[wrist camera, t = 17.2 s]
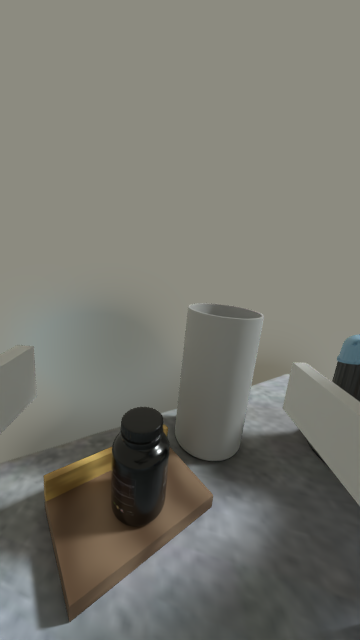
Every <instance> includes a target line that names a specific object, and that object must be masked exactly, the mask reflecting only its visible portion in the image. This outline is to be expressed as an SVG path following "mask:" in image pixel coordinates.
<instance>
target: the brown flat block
mask: <svg viewBox="0 0 360 640" xmlns="http://www.w3.org/2000/svg"><path fill="white" fill-rule="evenodd" d="M163 432H164V433H165V435H166V436H167V433H168V427H167V426H166V425H163ZM111 463H112V447H110V448H108V449H105V450H103V451H101V452H98V453H96V454H94V455H91V456H89V457H86V458H84V459H82V460H79V461H77V462H75V463H72V464H70V465H67V466H65V467H63V468H60V469H58V470H56V471H53V472H51V473H48V474H46V475H44V495H45V510H46V514H47V519H48V524H49V529H50V533H51V538H52V543H53V547H54V552H55V557H56V561H57V566H58V571H59V576H60V580H61V585H62V590H63V594H64V599H65V604H66V609H67V613H68V618H69V622H71V621H72V620H73V619H74V618H76V617H77V616H78V615H79V614H80V613H82V612H83V611H84V610H85V609H87V608H88V607H89V606H90V605H92V604H93V603H94V602H95V601H96V600H98V599H99V598H100V597H101V596H103V595H104V594H105V593H106V592H107V591H109V590H110V589H111V588H112V587H114V586H115V585H116V584H117V583H119V582H120V581H121V580H122V579H123V578H125V577H126V576H127V575H128V574H130V573H131V572H132V571H133V570H135V569H136V568H137V567H138V566H139V565H141V564H142V563H143V562H144V561H146V560H147V559H148V558H149V557H151V556H152V555H153V554H154V553H155V552H157V551H158V550H159V549H160V548H162V547H163V546H164V545H165V544H166V543H168V542H169V541H170V540H171V539H173V538H174V537H175V536H176V535H178V534H179V533H180V532H181V531H182V530H184V529H185V528H186V527H187V526H189V525H190V524H191V523H192V522H194V521H195V520H196V519H197V518H198V517H200V516H201V515H202V514H203V513H205V512H206V511H207V510H208V509H210V508H211V506H212V500H213V494H212V493H211V492H210V491H209V490H208V489H207V488H206V487H205V485H204V484H203V483H202V482H201V481H200V480H199V479H198V478H197V477H196V475H195V474H194V473H193V472H192V471H191V470H190V469H189V468H188V467H187V465H186V464H185V463H184V462H183V461H182V460H181V459H180V458H179V457H178V455H177V454H176V453H175V452H174V451H173V450H172V449H171V448H170V450H169V462H168V474H167V486H166V497H165V503H164V506H163V509H162V511H161V512H160V514H159V515H158V516H157V517H156V518H155V519H154V520H153V521H152V522H150V523H148V524H146V525H144V526H139V527H132V526H128V525H125V524H123V523H121V522H120V521H119V520H118V519H117V518H116V516H115V515H114V513H113V510H112V506H111Z"/></svg>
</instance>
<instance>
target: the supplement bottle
mask: <svg viewBox="0 0 360 640" xmlns="http://www.w3.org/2000/svg"><path fill="white" fill-rule="evenodd" d="M169 450H170V446H169V441H168V438H167V436H166V435H165V433H164V432H163V417H162V415H161V414H160V413H159V412H158V411H157V410H155V409H153V408H149V407H137V408H134V409H131V410H130V411H128V412H127V413H125V415H124V416H123V418H122V421H121V432H120V433H119V434H118V436H117V437H116V438H115V440H114V442H113V446H112V463H111V506H112V510H113V513H114V515H115V516H116V518H117V519H118V520H119V521H120V522H121V523H123V524H125V525H128V526H132V527H139V526H144V525H146V524H148V523H150V522H152V521H153V520H154V519H155V518H156V517H157V516H158V515H159V514H160V512H161V511H162V509H163V506H164V503H165V497H166V486H167V474H168V462H169Z"/></svg>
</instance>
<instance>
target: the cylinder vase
mask: <svg viewBox="0 0 360 640" xmlns="http://www.w3.org/2000/svg"><path fill="white" fill-rule="evenodd" d="M263 319H264V315H263V314H261V313H259V312H256V311H253V310H250V309H246V308H241V307H236V306H229V305H221V304H208V303H199V304H191V305H189V306H188V314H187V323H186V333H185V342H184V351H183V360H182V369H181V378H180V388H179V397H178V406H177V415H176V424H175V435H176V439H177V441H178V443H179V444H180V446H181V447H182V448H183V449H184V450H185V451H186V452H188V453H189V454H191V455H193V456H194V457H197V458H199V459H202V460H207V461H221V460H225V459H228V458H230V457H232V456H233V455H234V454H235V453H236V452H237V451H238V449H239V447H240V443H241V437H242V432H243V427H244V421H245V416H246V411H247V405H248V400H249V394H250V389H251V384H252V378H253V373H254V368H255V362H256V357H257V351H258V346H259V340H260V335H261V330H262V325H263Z"/></svg>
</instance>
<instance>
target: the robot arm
mask: <svg viewBox="0 0 360 640" xmlns="http://www.w3.org/2000/svg"><path fill="white" fill-rule="evenodd" d="M337 360H338V363H337V366H336V370H335V374H334V377H333V381H331V380H329V379H327V378H326V377H325V376H324V375H322V374H321V373H319V372H318V371H317V370H315V369H314V368H313V367H311V366H310V365H309V364H307V363H295V362H293V364H292V368H291V373H290V377H289V382H288V386H287V391H286V396H285V400H284V405H283V409H284V410H285V412H286V413H287V414H288V416H289V417H290V418H291V419H292V421H293V422H294V423H295V424H296V426H297V427H298V428H299V430H300V431H301V432H302V433H303V435H304V436H305V437H306V438H307V440H308V443H309V445H310V446H311V448H312V449H313V451H314V452H315V453H316V454H317V455H318V456H319V457H320V458H321V459H322V460H323V461H324V462H325V463H326V464H327V465H328V466H329V468H330V469H331V470H332V472H333V473H334V474H335V475H336V477H337V478H338V479H339V481H340V482H341V483H342V484H343V486H344V487H345V488H346V489H347V491H348V492H349V493H350V495H351V496H352V497H353V498H354V500H355V501H356V502H357V503H358V505H359V506H360V335H354V336H351V337H349V338H347V339H346V340H345V341H344V343H343V346H342V349H341V352H340V354H339V356H338V357H337ZM35 376H36V375H35V360H34V347H33V346H23V345H17V346H15V347H13V348H11V349H9V350H7V351H6V352H4V353H2V354H0V434H1V433H2V432H3V431H4V430H5V429H6V428H7V427H8V426H9V425H10V424H11V423H12V422H13V421H14V420H15V419H16V418H17V417H18V416H19V414H20V413H21V412H22V411H23V410H24V409H25V408H26V407H27V406H28V405H29V404H30V403H31V402H32V401H33V400H34V399H35V398H36V397H37V390H36V377H35Z"/></svg>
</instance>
